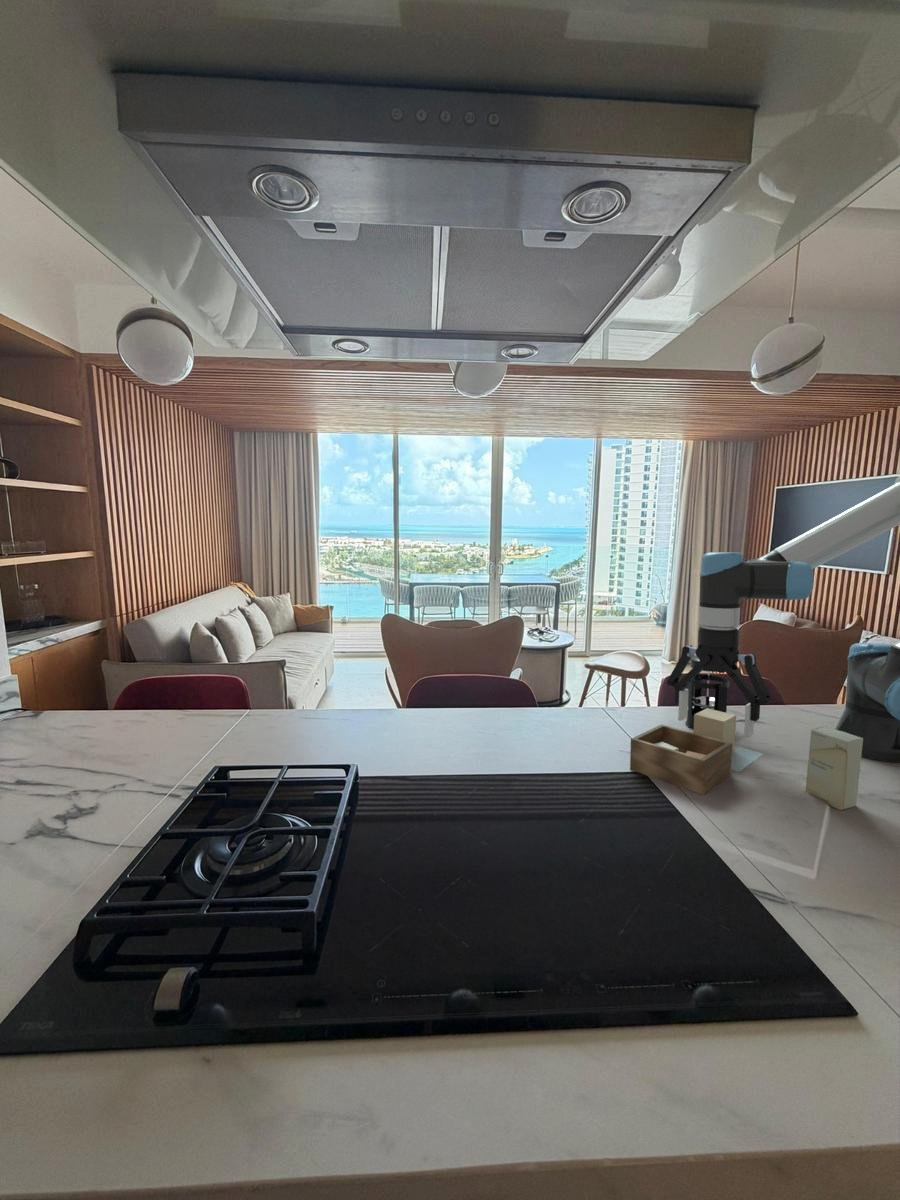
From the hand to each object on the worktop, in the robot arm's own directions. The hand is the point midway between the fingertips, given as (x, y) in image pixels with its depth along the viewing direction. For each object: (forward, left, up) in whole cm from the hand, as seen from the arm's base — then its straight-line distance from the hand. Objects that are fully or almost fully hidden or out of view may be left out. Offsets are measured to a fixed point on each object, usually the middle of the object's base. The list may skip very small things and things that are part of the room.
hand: (714, 726), depth 110 cm
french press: (+8, -16, -6) cm, 19 cm away
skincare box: (-22, +5, -6) cm, 23 cm away
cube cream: (+3, +15, -5) cm, 16 cm away
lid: (0, 0, -7) cm, 7 cm away
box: (0, +15, -6) cm, 16 cm away
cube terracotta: (-3, +15, -5) cm, 16 cm away
